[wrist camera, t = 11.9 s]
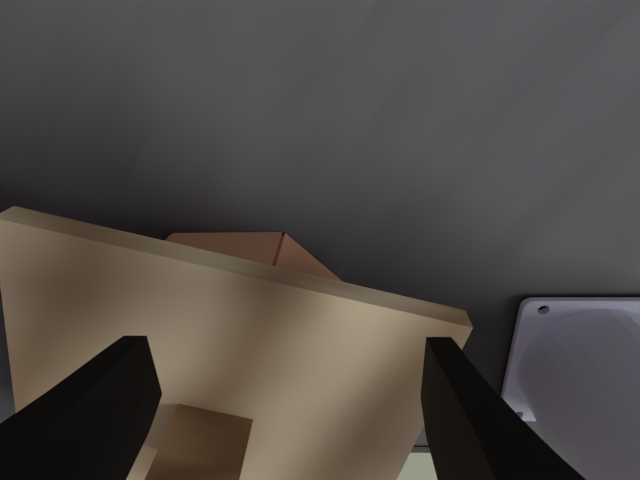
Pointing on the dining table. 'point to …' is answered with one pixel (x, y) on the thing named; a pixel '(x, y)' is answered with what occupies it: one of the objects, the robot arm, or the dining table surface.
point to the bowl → (257, 249)
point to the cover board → (224, 351)
